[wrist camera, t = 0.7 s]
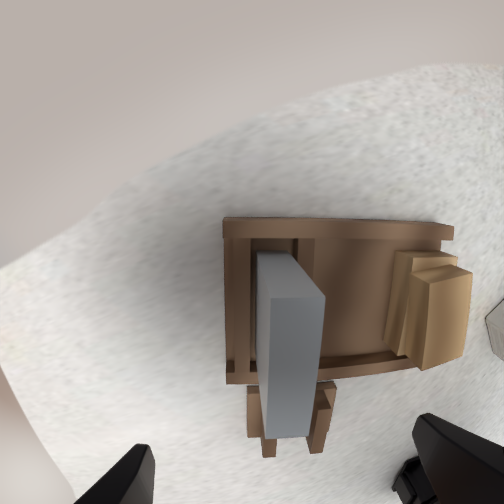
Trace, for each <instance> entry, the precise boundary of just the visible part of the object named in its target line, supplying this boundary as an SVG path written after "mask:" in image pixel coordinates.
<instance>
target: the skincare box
mask: <svg viewBox="0 0 504 504" xmlns="http://www.w3.org/2000/svg"><path fill="white" fill-rule="evenodd" d="M486 323H487V327H488V332H489V336H490V341H491V346H492V350H493V353H494V354H496V355H497V356H498V357H499V358H501V359H502V360H503V361H504V300H503V301H502V302H501V303H500V304H499V305H498V306H497V307H496V308H495V309H494V310H493V311H492V312H491V313H490V314H489V315H488V316H487V317H486Z"/></svg>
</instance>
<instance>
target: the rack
mask: <svg viewBox="0 0 504 504" xmlns="http://www.w3.org/2000/svg"><path fill="white" fill-rule="evenodd" d="M453 235H454V226H450V225H445V224H440V223H435V222H416V221H395V220H369V219H336V218H281V217H224V219H223V238H224V286H225V331H226V384H259V381H258V373H257V364H256V356H255V284H256V250H287V251H288V252H289V253H290V254H291V255H292V257H293V258H294V259H295V260H296V261H297V263H298V264H299V265H300V266H301V268H302V269H303V270H304V271H305V272H306V274H307V275H308V276H309V277H310V278H311V280H312V281H313V282H314V283H315V285H316V286H317V287H318V288H319V290H320V291H321V292H322V293H323V294H324V296H325V309H324V320H323V331H322V340H321V350H320V358H319V367H318V375H317V381H320V380H330V379H340V378H349V377H357V376H365V375H372V374H379V373H386V372H392V371H398V370H404V369H409V368H415V367H417V366H416V365H415V364H414V363H413V362H412V361H411V360H410V359H409V358H408V357H407V356H406V355H400V356H397V355H396V354H395V353H394V352H393V351H392V350H391V349H390V348H389V346H388V345H387V344H386V343H385V342H384V341H383V339H384V334H385V328H386V322H387V316H388V309H389V302H390V295H391V287H392V279H393V270H394V260H395V250H439V251H440V248H441V240H453Z"/></svg>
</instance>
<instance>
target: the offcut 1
mask: <svg viewBox="0 0 504 504" xmlns="http://www.w3.org/2000/svg"><path fill="white" fill-rule="evenodd" d="M457 259H458V257H456V256H453V255H450V254H448V253H445V252H442V251H439V250H395V260H394V270H393V279H392V287H391V295H390V302H389V309H388V316H387V322H386V328H385V334H384V339H383V341H384V342H385V343H386V344H387V345H388V346H389V348H390V349H391V350H392V351H393V352H394V353H395V354H396V355H397V356H400V355H405V347H406V335H407V321H408V299H409V273H411V272H416V271H421V270H425V269H430V268H435V267H440V266H444V265H449V264H452V265H454V266H457Z"/></svg>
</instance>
